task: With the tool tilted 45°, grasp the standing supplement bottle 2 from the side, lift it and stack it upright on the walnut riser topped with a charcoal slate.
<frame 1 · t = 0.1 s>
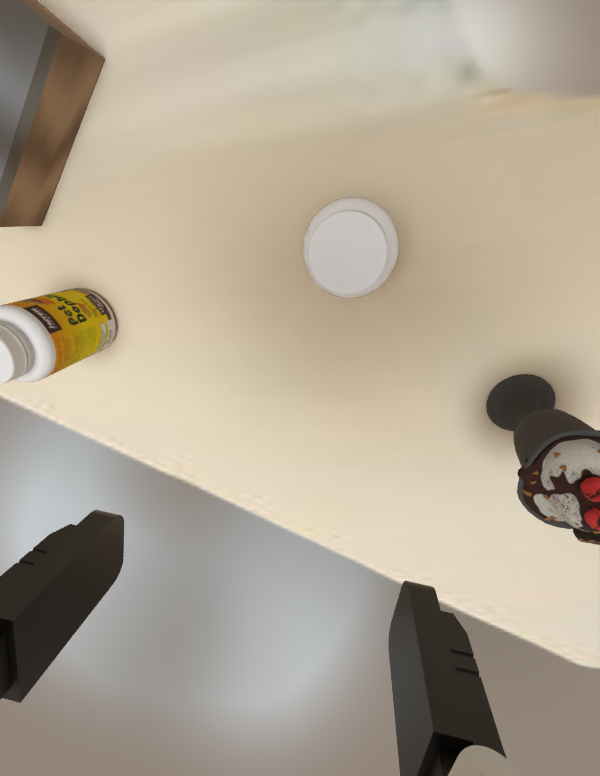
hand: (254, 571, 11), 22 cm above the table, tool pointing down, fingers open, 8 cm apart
sundae: (518, 401, 31), on the table
supplement bottle 2: (90, 318, 34), on the table
supplement bottle: (354, 242, 28), on the table
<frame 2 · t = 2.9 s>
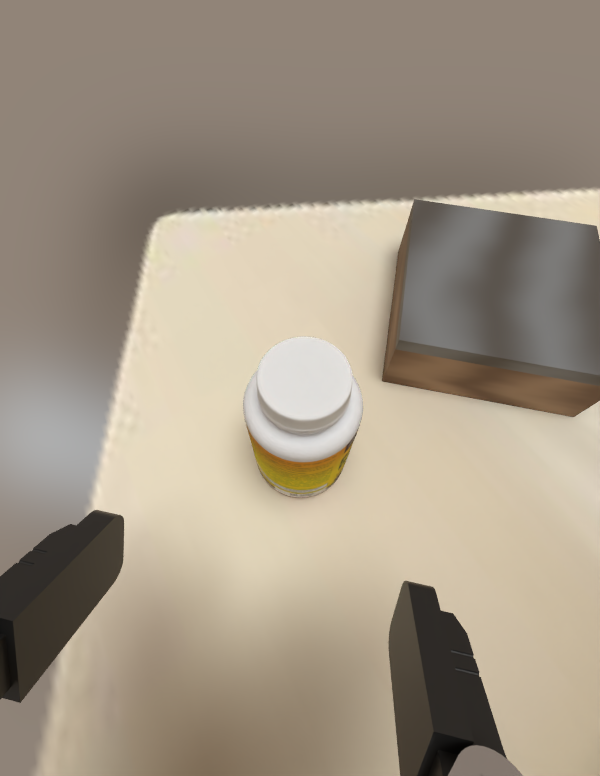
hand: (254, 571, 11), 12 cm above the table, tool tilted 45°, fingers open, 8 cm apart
supplement bottle 2: (300, 456, 25), on the table
riser: (475, 324, 30), on the table
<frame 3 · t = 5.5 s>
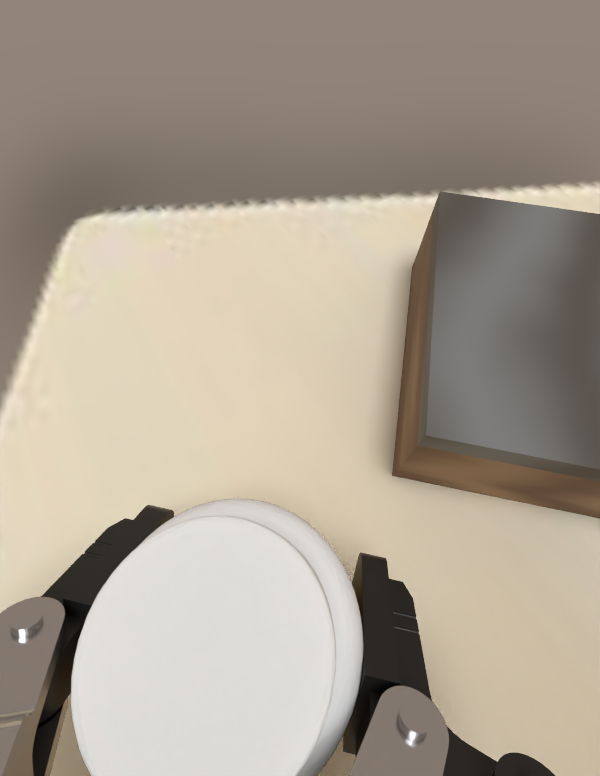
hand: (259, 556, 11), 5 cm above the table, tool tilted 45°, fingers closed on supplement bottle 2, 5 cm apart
supplement bottle 2: (259, 615, 15), on the table, touching gripper
riser: (530, 378, 20), on the table
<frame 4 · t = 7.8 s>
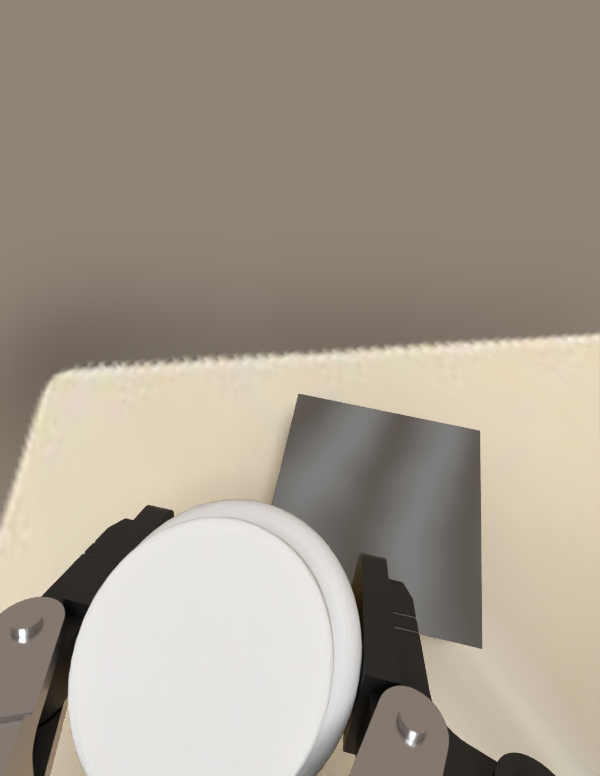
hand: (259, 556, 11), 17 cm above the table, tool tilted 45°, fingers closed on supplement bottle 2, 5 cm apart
supplement bottle 2: (258, 616, 15), point 12 cm above the table, touching gripper
riser: (363, 516, 29), on the table
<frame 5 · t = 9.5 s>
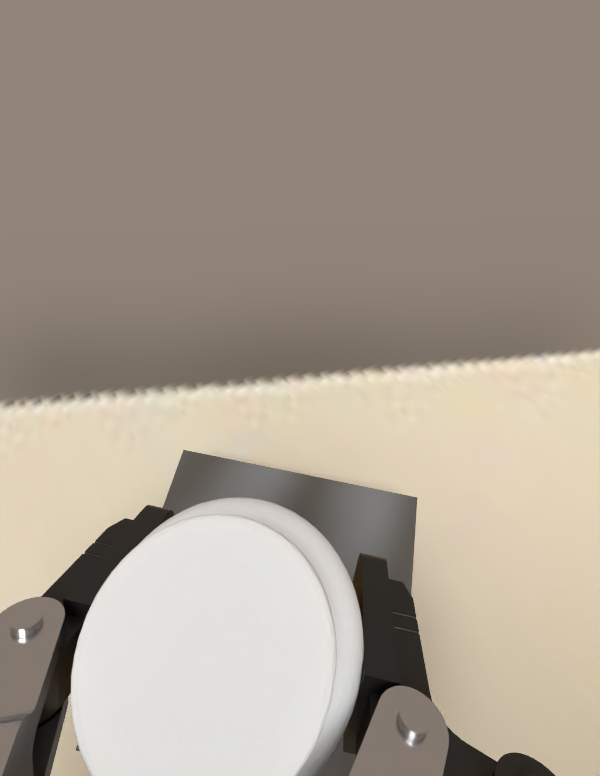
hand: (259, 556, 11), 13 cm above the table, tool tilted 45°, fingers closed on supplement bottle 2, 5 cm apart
supplement bottle 2: (259, 614, 15), point 9 cm above the table, touching gripper
riser: (274, 603, 23), on the table
when the fingers open (11 cm above the table, at t = 10.5 s): supplement bottle 2 drops 1 cm, resting on riser.
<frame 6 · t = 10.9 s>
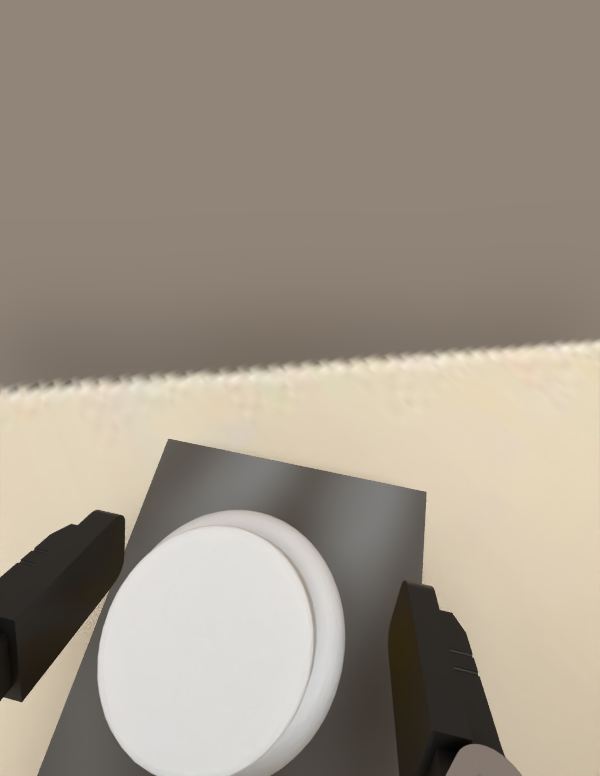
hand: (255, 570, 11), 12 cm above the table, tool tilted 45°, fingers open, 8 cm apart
supplement bottle 2: (261, 617, 16), point 5 cm above the table, touching riser
riser: (268, 609, 20), on the table
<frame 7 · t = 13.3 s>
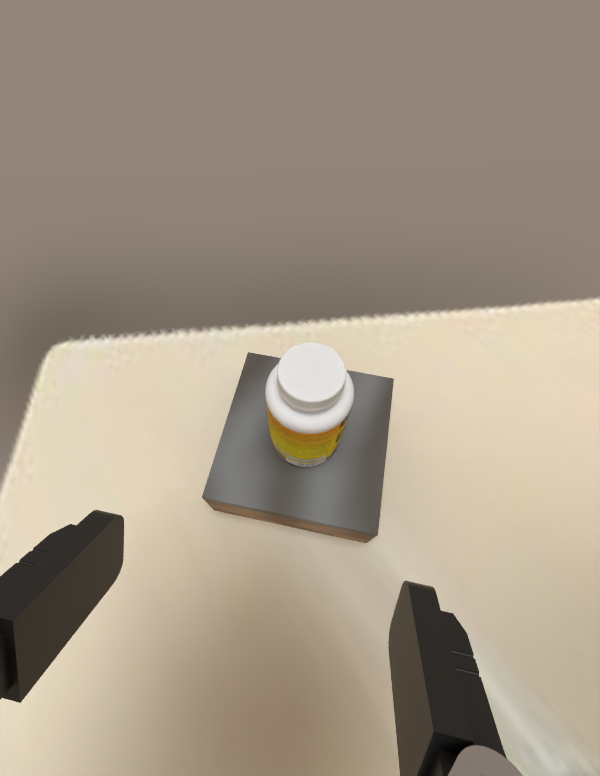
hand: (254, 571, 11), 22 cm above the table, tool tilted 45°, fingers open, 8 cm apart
supplement bottle 2: (305, 435, 31), point 5 cm above the table, touching riser
riser: (303, 453, 35), on the table
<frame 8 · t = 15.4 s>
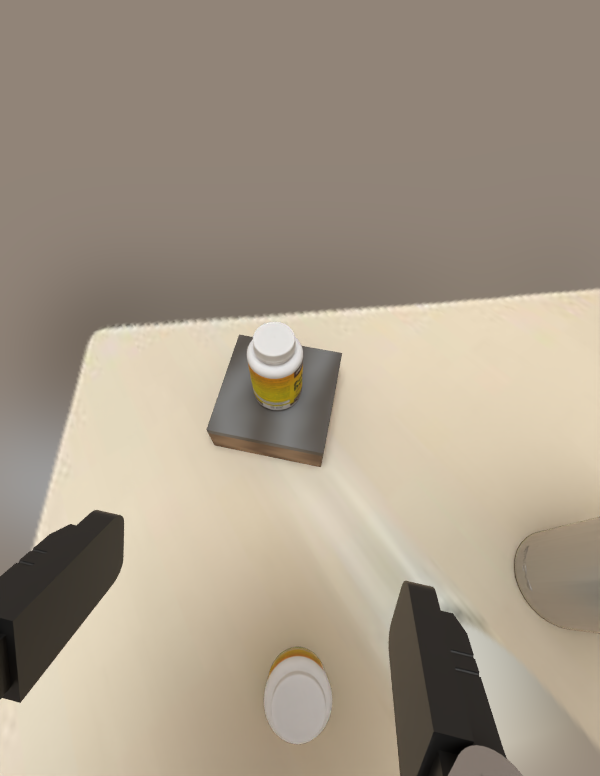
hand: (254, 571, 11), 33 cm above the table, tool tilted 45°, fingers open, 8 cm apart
supplement bottle 2: (278, 391, 45), point 5 cm above the table, touching riser
riser: (279, 407, 49), on the table
supplement bottle: (297, 680, 36), on the table
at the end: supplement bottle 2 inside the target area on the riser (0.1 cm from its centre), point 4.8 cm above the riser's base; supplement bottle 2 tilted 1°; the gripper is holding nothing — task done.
